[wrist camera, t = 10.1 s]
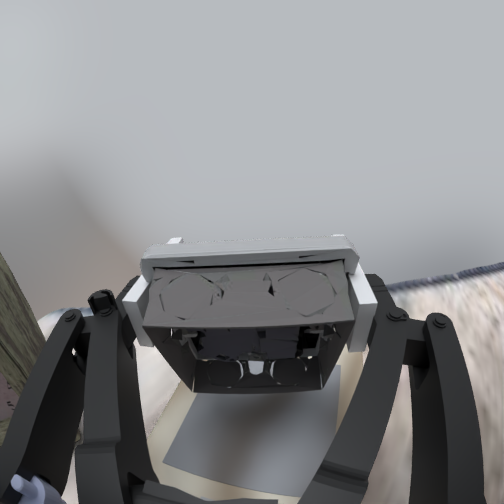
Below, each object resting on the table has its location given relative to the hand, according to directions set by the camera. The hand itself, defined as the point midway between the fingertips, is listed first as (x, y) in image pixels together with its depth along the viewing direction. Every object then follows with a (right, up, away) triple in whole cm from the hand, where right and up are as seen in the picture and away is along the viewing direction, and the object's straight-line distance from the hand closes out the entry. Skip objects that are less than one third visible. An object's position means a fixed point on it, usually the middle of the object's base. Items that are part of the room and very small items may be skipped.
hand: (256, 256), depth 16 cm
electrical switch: (0, -8, -1) cm, 8 cm away
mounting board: (+1, -13, +2) cm, 13 cm away
